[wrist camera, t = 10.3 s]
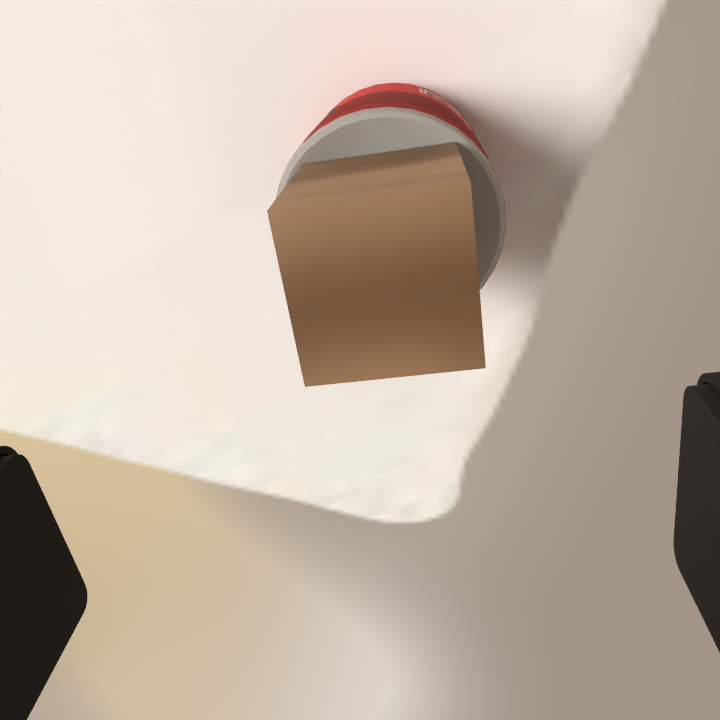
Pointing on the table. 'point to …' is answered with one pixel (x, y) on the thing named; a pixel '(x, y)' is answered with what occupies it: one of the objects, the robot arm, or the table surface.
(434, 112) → the canned food
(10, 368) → the table surface
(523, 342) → the table surface
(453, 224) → the walnut block
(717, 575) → the robot arm
